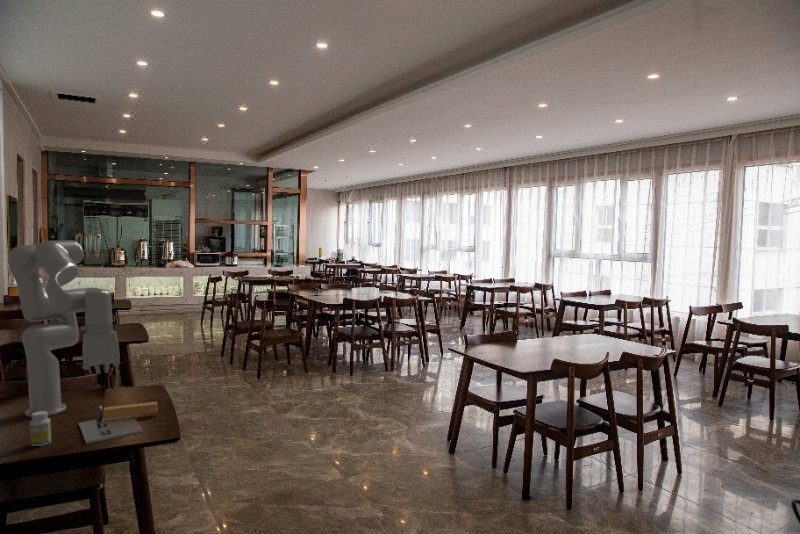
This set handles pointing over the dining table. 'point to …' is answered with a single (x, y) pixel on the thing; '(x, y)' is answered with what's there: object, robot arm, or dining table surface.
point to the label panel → (108, 427)
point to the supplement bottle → (40, 429)
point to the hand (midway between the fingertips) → (102, 385)
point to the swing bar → (130, 410)
